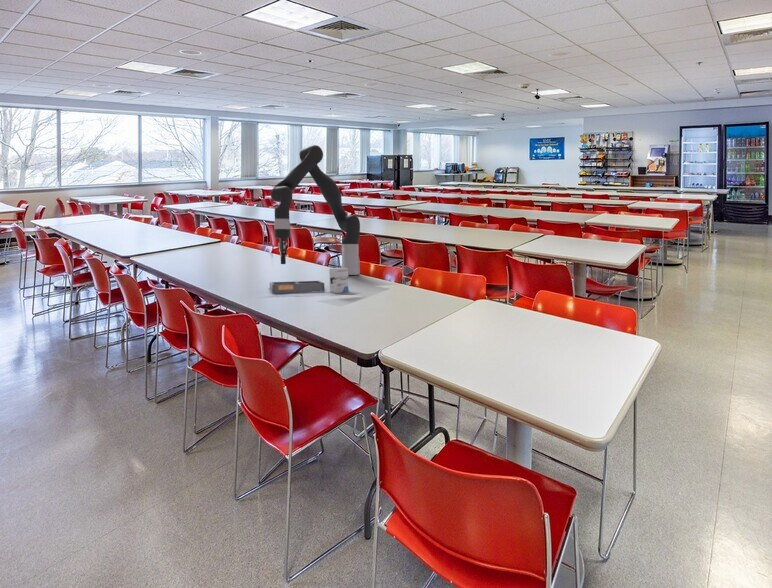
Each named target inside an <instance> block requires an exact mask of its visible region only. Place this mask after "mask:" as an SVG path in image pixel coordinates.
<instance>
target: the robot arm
mask: <svg viewBox="0 0 772 588" xmlns="http://www.w3.org/2000/svg"><path fill="white" fill-rule="evenodd" d="M323 157H324V151H323V149H322V147H320V146H319V145H316V144H312V145H310V146H306V147H303V148H301V149H300V151H299V159H300V163H298V164H297V165H296V166H295V167H293V168H292V169H290V170H289V172H288V173H287V174H286V175H285V177H284V178H283V180H282V179H281V181H280V182H278V183H277V184H276V185H274V186H273V187H272V189H271V191H270V197H271V199H272V201H274V202H277V203H278V202H280V204H279V205H278V206H275V208H274V221H273V223H274V225H273V226H274V230H273V231H274V239H278V240H279V241H278V242H277V245H278V251H279V256H280V264H281V265H286V261H287V259H286V256H287V251H288V242H287V240H286V239H291V221H290V209H291V205H292V201H293V191H294V190H295V189H296V188H297V187H298V186H299V185H300V183H301V182H302V181H303V180H304V178H305V177H306V175H307V174H310V176H311V178H312V179H313V180H314V182H315V184H316V185H317V188H318V189H319V192H320V193H321V195H322V197H323V198H324V200H325V202H326V203H327V205H328V207H329V209H330V210H331V212H332V214H333V216H334V218H335V220H336V223H337V225H338V228H339V229H340V230H341V231H343V232H345V235H344V237H343V238H342V239H341V268H348V276H353V275H354V276H357V275H361V274H360V273H361V271H360V267H361V266H360V264H361V263H360V256H359V240H360V239H361V238H360V237H361V234H360V233H361V222H360V219H359V217H358V216H357V215H354V214H347V211H346V210H345V209H344V207H343V203H342V193H341V190H340V189H339V187H338V185H337V183H336V181H334V180H333V178H331V177H330V176H329V175H327V174H326V173H325V172H323V170H322V169H320V167H319V165H318V164H319V163H321V161H322V160H323V159H324V158H323Z"/></svg>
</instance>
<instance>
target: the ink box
mask: <svg viewBox="0 0 772 588" xmlns="http://www.w3.org/2000/svg"><path fill="white" fill-rule="evenodd" d="M344 291H346V292H349V275H348V268H342V267H337V268H336V267H335V268H334V267H333V268H331V267H330V268H329V293H333V294H339V293H345V292H344Z"/></svg>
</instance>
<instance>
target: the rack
mask: <svg viewBox="0 0 772 588" xmlns="http://www.w3.org/2000/svg"><path fill="white" fill-rule="evenodd" d="M270 289H271V290H270ZM269 290H270V291H271V294H272V295H274V294H276V295H277V294H294V293H300V292H303V293H309V292H312V291H317V292H321V291H325V282H323V281H321V280H303V281H301V280H300V281H270V282H269Z"/></svg>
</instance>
